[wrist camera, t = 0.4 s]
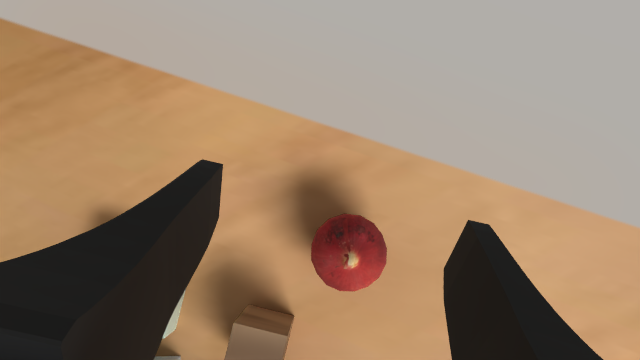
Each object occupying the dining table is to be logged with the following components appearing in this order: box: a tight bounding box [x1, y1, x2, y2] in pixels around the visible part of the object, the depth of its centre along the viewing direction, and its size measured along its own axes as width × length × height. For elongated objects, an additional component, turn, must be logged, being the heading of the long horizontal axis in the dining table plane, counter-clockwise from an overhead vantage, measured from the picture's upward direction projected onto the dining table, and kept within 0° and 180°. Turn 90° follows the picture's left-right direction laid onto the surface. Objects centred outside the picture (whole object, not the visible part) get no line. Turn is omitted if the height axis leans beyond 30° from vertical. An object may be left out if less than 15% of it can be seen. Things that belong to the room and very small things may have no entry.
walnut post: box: [225, 304, 294, 360], centre depth 36 cm, size 4×4×6 cm
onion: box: [311, 214, 387, 291], centre depth 36 cm, size 6×6×8 cm
